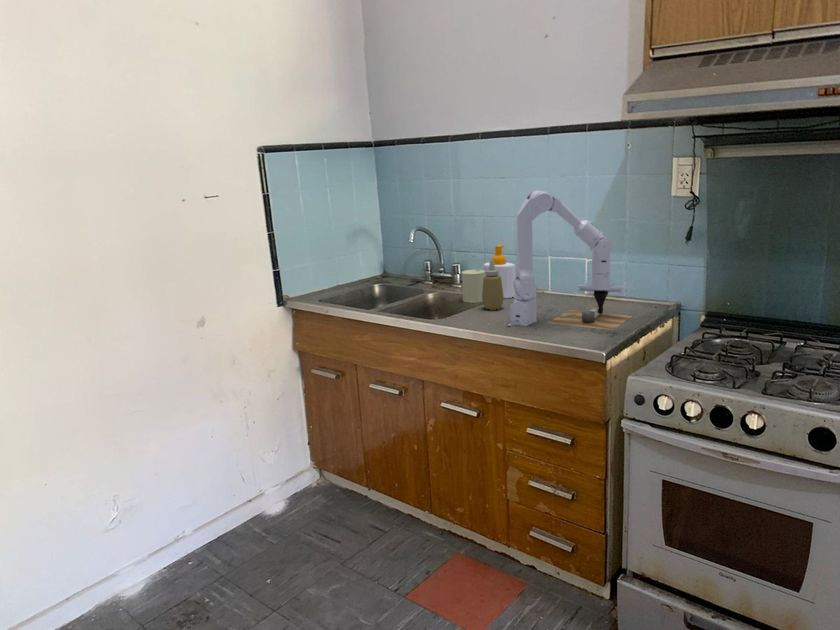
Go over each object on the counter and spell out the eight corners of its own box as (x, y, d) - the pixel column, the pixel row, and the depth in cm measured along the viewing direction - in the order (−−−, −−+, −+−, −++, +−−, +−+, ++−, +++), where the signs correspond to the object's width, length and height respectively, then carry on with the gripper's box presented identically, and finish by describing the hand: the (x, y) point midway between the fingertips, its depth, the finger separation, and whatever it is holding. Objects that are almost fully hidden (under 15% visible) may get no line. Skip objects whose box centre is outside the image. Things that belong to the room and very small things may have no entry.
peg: (592, 323, 202) (592, 314, 201) (580, 322, 204) (580, 313, 203) (605, 314, 212) (605, 305, 211) (593, 312, 214) (593, 304, 213)
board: (613, 333, 194) (613, 329, 193) (547, 325, 206) (547, 322, 206) (632, 318, 208) (632, 315, 208) (569, 312, 221) (569, 309, 221)
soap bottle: (519, 295, 252) (518, 245, 247) (510, 299, 246) (509, 248, 241) (489, 293, 260) (488, 244, 255) (480, 297, 253) (478, 247, 248)
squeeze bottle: (508, 309, 231) (506, 260, 227) (488, 312, 228) (487, 263, 224) (497, 305, 238) (496, 258, 234) (478, 307, 236) (476, 260, 231)
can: (490, 299, 249) (489, 269, 246) (476, 304, 242) (475, 273, 239) (472, 296, 255) (471, 267, 252) (457, 301, 248) (456, 271, 245)
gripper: (625, 271, 207) (624, 311, 210) (581, 270, 213) (581, 308, 216) (622, 275, 201) (621, 316, 204) (576, 274, 207) (576, 313, 210)
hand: (600, 312), depth 210 cm, fingers closed, pressing on peg
